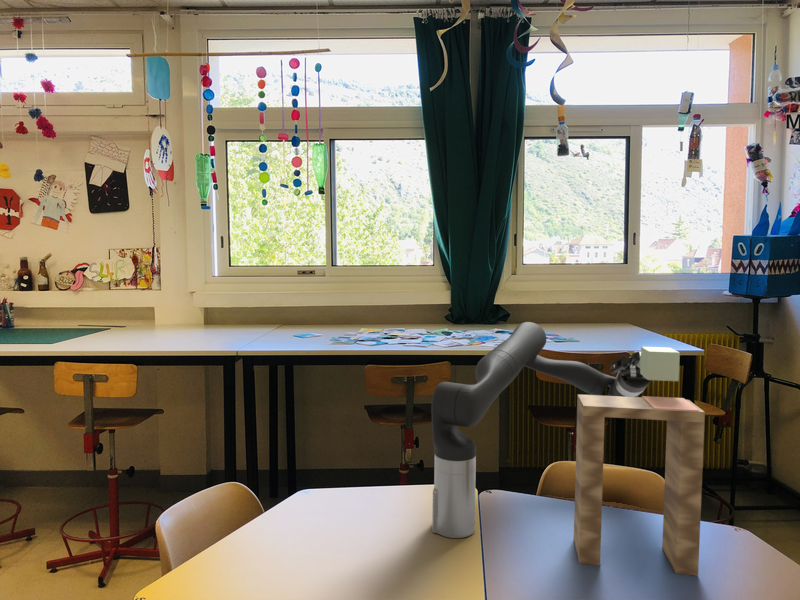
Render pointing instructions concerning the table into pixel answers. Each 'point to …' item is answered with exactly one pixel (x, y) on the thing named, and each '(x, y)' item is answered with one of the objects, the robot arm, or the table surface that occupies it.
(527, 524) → the table surface
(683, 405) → the card
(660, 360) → the pale green bar
